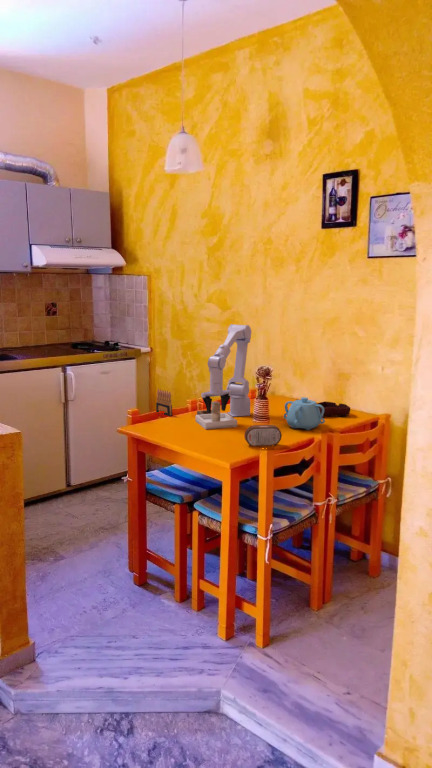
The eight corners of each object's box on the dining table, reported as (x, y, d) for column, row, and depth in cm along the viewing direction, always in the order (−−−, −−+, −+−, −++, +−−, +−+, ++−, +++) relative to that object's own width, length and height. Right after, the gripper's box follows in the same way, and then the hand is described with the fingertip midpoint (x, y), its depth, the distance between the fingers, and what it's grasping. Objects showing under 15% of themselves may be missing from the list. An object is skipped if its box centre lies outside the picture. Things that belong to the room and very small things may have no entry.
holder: (213, 413, 289) (213, 409, 289) (219, 417, 281) (219, 413, 281) (196, 414, 286) (196, 410, 286) (202, 419, 279) (202, 414, 278)
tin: (280, 443, 239) (280, 423, 238) (282, 446, 236) (282, 425, 235) (244, 445, 237) (244, 425, 235) (245, 447, 234) (246, 427, 232)
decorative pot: (281, 423, 273) (282, 394, 270) (314, 421, 275) (315, 393, 273) (291, 432, 257) (292, 402, 254) (326, 431, 260) (327, 401, 257)
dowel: (217, 420, 272) (217, 401, 271) (221, 422, 269) (222, 402, 267) (210, 421, 270) (210, 402, 269) (214, 423, 267) (214, 403, 265)
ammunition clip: (172, 415, 285) (172, 391, 282) (169, 416, 283) (169, 392, 281) (158, 411, 292) (158, 388, 290) (156, 412, 291) (155, 388, 289)
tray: (225, 419, 279) (225, 412, 278) (237, 426, 265) (237, 420, 264) (195, 421, 274) (195, 415, 274) (205, 429, 260) (205, 422, 260)
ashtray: (341, 410, 300) (341, 400, 299) (352, 418, 284) (352, 408, 283) (307, 411, 298) (307, 401, 297) (316, 418, 282) (316, 408, 281)
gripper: (225, 379, 273) (225, 408, 275) (198, 382, 266) (198, 411, 268) (233, 382, 267) (233, 411, 269) (205, 384, 260) (205, 414, 262)
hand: (216, 411), depth 268 cm, fingers open, 7 cm apart
